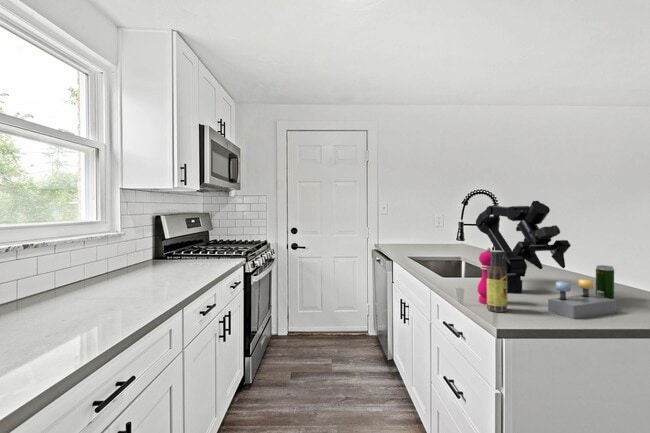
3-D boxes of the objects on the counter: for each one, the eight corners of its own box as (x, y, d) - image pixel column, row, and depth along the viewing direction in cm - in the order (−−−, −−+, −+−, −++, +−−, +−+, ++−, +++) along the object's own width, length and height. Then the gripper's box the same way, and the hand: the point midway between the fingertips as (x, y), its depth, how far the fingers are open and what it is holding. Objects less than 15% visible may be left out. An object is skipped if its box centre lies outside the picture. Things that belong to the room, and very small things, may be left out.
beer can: (610, 301, 134) (610, 268, 133) (593, 298, 138) (593, 266, 138) (616, 299, 137) (616, 266, 136) (599, 296, 141) (599, 264, 141)
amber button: (580, 298, 125) (580, 280, 125) (577, 295, 129) (577, 278, 129) (594, 299, 124) (594, 281, 124) (590, 296, 128) (590, 279, 127)
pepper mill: (498, 300, 139) (497, 246, 138) (500, 305, 132) (500, 248, 131) (476, 299, 141) (476, 245, 140) (478, 304, 134) (477, 248, 134)
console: (573, 318, 116) (573, 305, 115) (548, 311, 124) (548, 299, 124) (616, 312, 121) (616, 300, 121) (588, 305, 130) (588, 293, 129)
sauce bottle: (508, 313, 122) (507, 252, 122) (487, 312, 125) (486, 251, 124) (506, 308, 128) (506, 250, 128) (486, 307, 130) (486, 249, 130)
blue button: (557, 301, 122) (557, 283, 122) (554, 298, 126) (554, 280, 126) (571, 302, 121) (571, 284, 121) (568, 299, 125) (568, 281, 124)
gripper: (517, 218, 132) (538, 254, 121) (567, 217, 134) (592, 252, 123) (504, 238, 140) (523, 274, 129) (551, 237, 142) (573, 272, 131)
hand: (553, 267), depth 128 cm, fingers open, 8 cm apart
